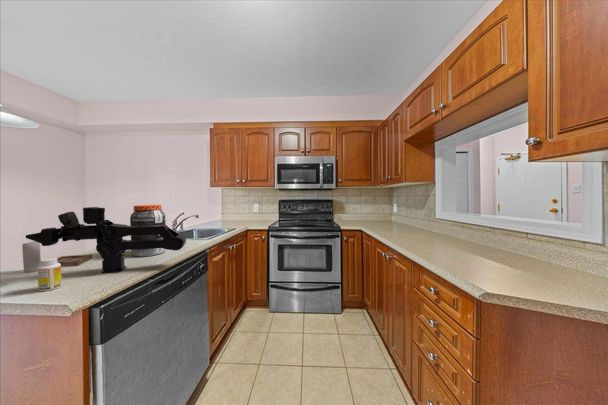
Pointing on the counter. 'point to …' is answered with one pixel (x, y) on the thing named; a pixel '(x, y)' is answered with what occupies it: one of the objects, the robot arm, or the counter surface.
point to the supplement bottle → (49, 274)
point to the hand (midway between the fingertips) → (35, 234)
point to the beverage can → (31, 256)
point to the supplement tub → (147, 217)
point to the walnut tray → (73, 260)
